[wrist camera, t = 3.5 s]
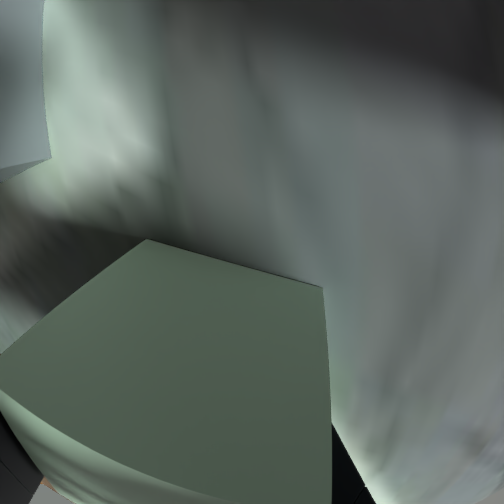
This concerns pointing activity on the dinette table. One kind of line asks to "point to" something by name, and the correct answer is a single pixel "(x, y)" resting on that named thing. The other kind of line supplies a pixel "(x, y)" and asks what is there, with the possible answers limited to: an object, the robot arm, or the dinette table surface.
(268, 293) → the green cube
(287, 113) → the dinette table surface
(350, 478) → the robot arm
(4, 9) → the grey block
